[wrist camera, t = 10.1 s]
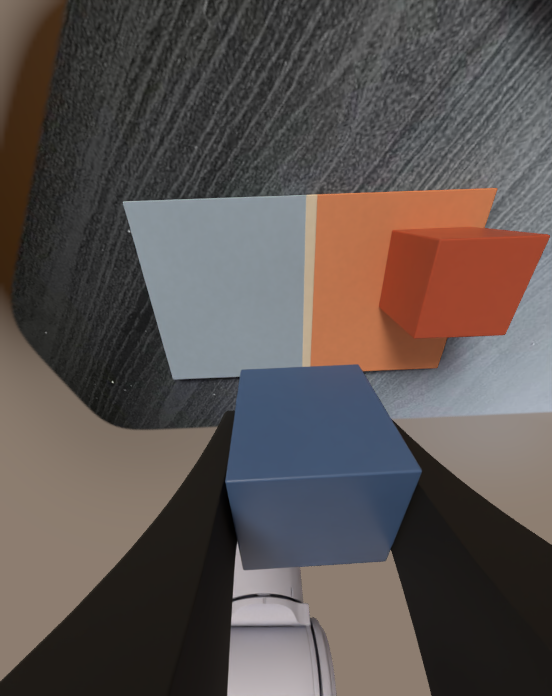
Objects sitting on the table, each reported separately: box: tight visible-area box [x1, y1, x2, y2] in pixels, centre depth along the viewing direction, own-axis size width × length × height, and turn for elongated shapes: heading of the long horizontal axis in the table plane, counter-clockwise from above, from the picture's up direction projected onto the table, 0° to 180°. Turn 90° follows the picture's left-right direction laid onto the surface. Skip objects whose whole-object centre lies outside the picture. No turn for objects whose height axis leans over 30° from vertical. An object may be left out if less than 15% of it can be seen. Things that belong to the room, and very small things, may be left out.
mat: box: [123, 188, 497, 380], centre depth 16 cm, size 19×11×1 cm, turn 92°
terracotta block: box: [379, 227, 550, 339], centre depth 13 cm, size 4×4×4 cm
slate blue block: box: [225, 364, 422, 570], centre depth 9 cm, size 4×4×4 cm
